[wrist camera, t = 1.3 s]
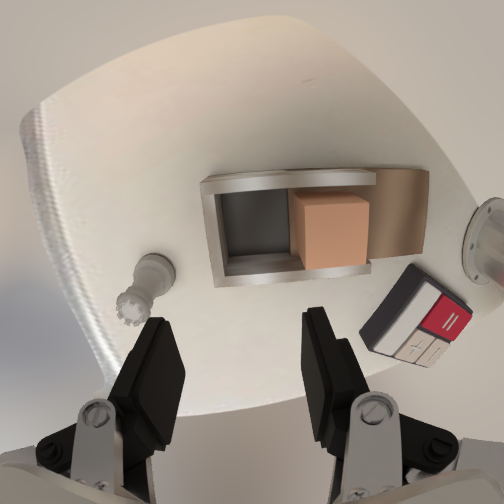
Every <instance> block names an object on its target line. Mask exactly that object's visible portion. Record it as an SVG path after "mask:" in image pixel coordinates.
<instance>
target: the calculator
mask: <svg viewBox="0 0 504 504" xmlns="http://www.w3.org/2000/svg"><path fill="white" fill-rule="evenodd" d="M472 313H473V311H472V310H471V309H470V308H469V307H468V306H467V305H466V304H465V303H464V302H463V301H461V300H460V299H459V298H458V297H456V296H455V295H454V294H453V293H451V292H450V291H449V290H447V289H446V288H445V287H443V286H442V285H441V284H439V283H438V282H437V281H435V280H434V279H433V278H431V277H430V276H429V275H427V274H426V273H425V272H423V271H422V270H421V269H419V268H418V267H416V266H415V265H413V264H409V265H408V266H407V268H406V269H405V271H404V272H403V274H402V275H401V277H400V278H399V280H398V281H397V282H396V284H395V285H394V287H393V288H392V289H391V291H390V292H389V294H388V295H387V296H386V298H385V299H384V300H383V302H382V303H381V304H380V306H379V307H378V308H377V310H376V311H375V312H374V314H373V315H372V316H371V317H370V319H369V320H368V321H367V322H366V324H365V325H364V326H363V327H362V329H361V330H360V331H359V334H360V336H361V338H362V340H363V341H364V343H365V345H366V347H367V349H368V350H369V351H371V352H375V353H378V354H381V355H384V356H388V357H391V358H394V359H398V360H401V361H405V362H408V363H412V364H416V365H419V366H423V367H429V368H430V367H431V366H433V364H434V363H435V362H436V361H437V360H438V359H439V358H440V356H441V355H442V354H443V353H444V352H445V351H446V350H447V349H448V347H449V346H450V342H451V341H454V340H455V339H456V338H457V336H458V335H459V334H460V333H461V331H462V330H463V329H464V327H465V326H466V325H467V323H468V322H469V321H470V319H471V318H472Z"/></svg>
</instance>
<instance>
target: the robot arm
mask: <svg viewBox="0 0 504 504" xmlns="http://www.w3.org/2000/svg"><path fill="white" fill-rule="evenodd" d="M463 266H464V270H465V273H466V275H467V276H468V278H469V279H470V280H471V281H473V282H474V283H476V284H486V283H488V282H491V283H493V284H494V285H495V286H496V287H498V288H499V289H500V290H501V291H503V292H504V199H501V198H497V197H494V198H491V199H489V200H487V201H485V202H484V203H483V204H482V205H481V206H480V207H479V209H478V210H477V212H476V213H475V215H474V217H473V218H472V220H471V222H470V225H469V227H468V230H467V233H466V237H465V241H464V246H463ZM301 371H302V376H303V381H304V386H305V392H306V396H307V402H308V406H309V412H310V417H311V423H312V429H313V434H314V439H315V442H317V441H320V442H321V447H322V448H327V452H328V453H330V454H332V455H333V456H335V457H334V465H333V472H332V479H331V485H330V491H329V497H328V502H327V504H504V443H502V442H492V441H482V440H476V439H469V438H463V439H462V440H457V438H456V437H455V436H454V435H453V434H452V433H451V432H449V431H447V430H444V429H442V428H438V427H436V426H433V425H430V424H427V423H424V422H421V421H419V420H415V419H413V418H410V417H408V416H405V415H403V414H400V413H399V410H398V406H397V403H396V401H395V400H394V399H393V398H392V397H391V396H389V395H388V394H385V393H383V392H376V391H373V392H370V390H369V388H368V385H367V383H366V380H365V378H364V375H363V373H362V371H361V368H360V366H359V363H358V361H357V359H356V356H355V354H354V352H353V349H352V347H351V345H350V343H349V341H348V339H347V338H343V339H336V337H335V335H334V332H333V330H332V327H331V325H330V322H329V320H328V317H327V315H326V312H325V310H324V308H323V307H322V306H321V307H312V308H308V309H307V312H303V313H302V345H301ZM184 380H185V368H184V365H183V362H182V359H181V357H180V354H179V351H178V348H177V344H176V341H175V338H174V335H173V332H172V329H171V325H170V323H169V321H165V319H164V318H163V317H150V318H148V320H147V321H146V323H145V325H144V327H143V329H142V331H141V333H140V335H139V337H138V339H137V341H136V343H135V345H134V347H133V349H132V350H131V351H130V352H129V354H128V356H127V358H126V360H125V362H124V364H123V366H122V368H121V371H120V373H119V375H118V377H117V379H116V381H115V383H114V386H113V388H112V390H111V392H110V394H109V397H108V399H107V400H106V399H93V400H91V401H89V402H87V403H86V404H85V405H83V407H82V408H81V409H80V412H79V415H78V420H77V423H75V424H73V425H71V426H69V427H67V428H65V429H63V430H60V431H58V432H56V433H54V434H51V435H49V436H47V437H45V438H43V439H42V440H41V441H40V442H39V443H38V445H37V447H35V446H34V445H33V446H30V447H26V448H21V449H17V450H13V451H9V452H4V453H2V454H1V455H0V504H156V498H155V490H154V482H153V473H152V464H151V456H152V455H153V454H154V450H158V451H165V448H166V445H169V444H170V442H171V438H172V433H173V429H174V424H175V420H176V415H177V411H178V406H179V402H180V398H181V393H182V389H183V385H184Z"/></svg>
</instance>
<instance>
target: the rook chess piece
mask: <svg viewBox="0 0 504 504" xmlns="http://www.w3.org/2000/svg"><path fill="white" fill-rule="evenodd" d="M133 276H134V282H133V285H132V286H130V287H129V288H128V289H127V290H126V292H124V293H121V294H120V295H119V296H118V298H117V302H116V304H117V307H116V310H117V311H119V313H118V314H117V316H118V317H119V319H122V317H123V318H124V319H125V320H126V321H125V324H127V325H130V323H133V325H134V326H138V325H139V324H140V323H143V322H146V321H147V320H148V318H149V317H150V314H151V312H150V309H151V308H152V306H153V300H154V299H155V298H156V297H159V296H162V295H164V294H165V293H167V292H168V291H169V290H170V288H171V287H172V286H173V283H174V281H175V272H174V270H173V268H172V266H171V264H170V263H169V262H168V261H167V260H166V259H165V258H163V257H161V256H158V255H147V256H144V257H142V258H141V259H140V261H139V262H138V264H137V265H136V266H135V270H134V273H133Z"/></svg>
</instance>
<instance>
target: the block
mask: <svg viewBox="0 0 504 504" xmlns="http://www.w3.org/2000/svg"><path fill="white" fill-rule="evenodd" d="M294 210H295V235H296V248H297V250H298V253H299V255H300V257H301V260H302V262H303V265H304V267H305V269H306V270H312V269H323V268H333V267H343V266H353V265H363V264H366V256H367V243H368V226H369V202H367V201H365V200H364V199H362V198H360V197H358V196H356V195H354V194H352V193H350V192H348V191H331V192H309V193H294Z"/></svg>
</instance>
